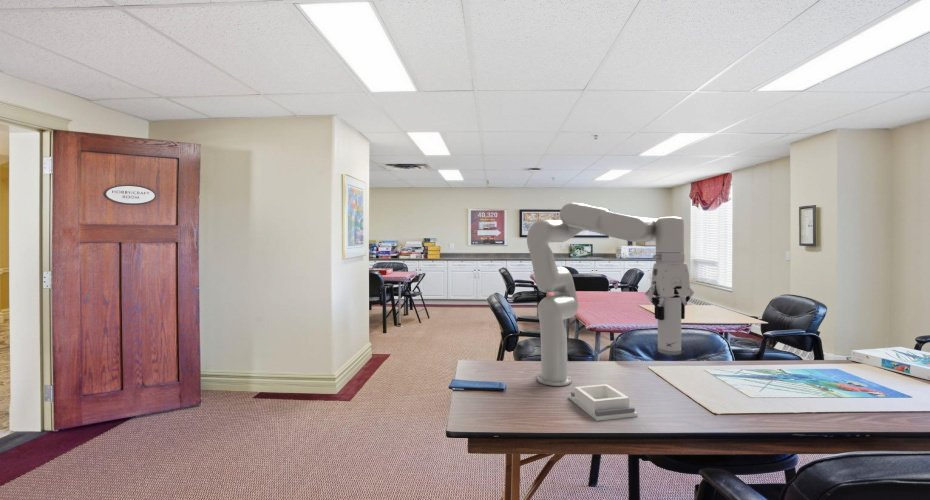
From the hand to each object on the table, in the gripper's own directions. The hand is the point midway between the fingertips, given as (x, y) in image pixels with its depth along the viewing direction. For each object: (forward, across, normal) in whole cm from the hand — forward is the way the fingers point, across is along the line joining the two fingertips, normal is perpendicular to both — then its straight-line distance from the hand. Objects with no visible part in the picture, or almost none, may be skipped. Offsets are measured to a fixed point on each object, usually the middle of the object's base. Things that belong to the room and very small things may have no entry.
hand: (669, 318), depth 120 cm
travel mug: (+10, 0, 0) cm, 10 cm away
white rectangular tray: (+28, -18, +8) cm, 34 cm away
